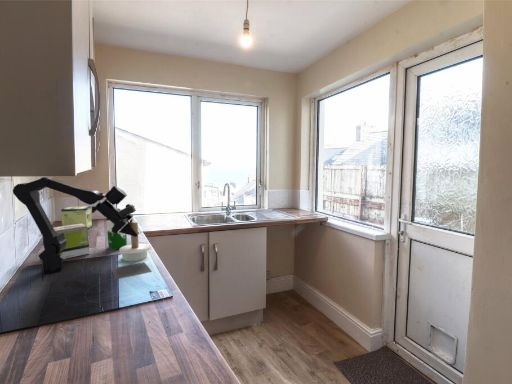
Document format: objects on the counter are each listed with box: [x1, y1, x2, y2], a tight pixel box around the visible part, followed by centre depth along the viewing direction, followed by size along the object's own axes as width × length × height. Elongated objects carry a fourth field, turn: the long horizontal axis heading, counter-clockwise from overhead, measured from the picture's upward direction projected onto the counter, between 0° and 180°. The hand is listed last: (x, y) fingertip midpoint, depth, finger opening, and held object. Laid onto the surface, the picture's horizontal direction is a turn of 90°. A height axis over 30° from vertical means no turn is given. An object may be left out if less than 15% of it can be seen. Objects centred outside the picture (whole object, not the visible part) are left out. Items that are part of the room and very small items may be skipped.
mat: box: [110, 261, 153, 280], centre depth 123 cm, size 14×14×1 cm
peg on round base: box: [118, 221, 151, 254], centre depth 130 cm, size 13×13×12 cm
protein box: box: [60, 205, 93, 230], centre depth 200 cm, size 10×16×16 cm
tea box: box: [53, 224, 91, 260], centre depth 144 cm, size 15×10×15 cm
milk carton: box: [105, 217, 128, 251], centre depth 156 cm, size 9×9×20 cm
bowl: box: [121, 250, 148, 262], centre depth 140 cm, size 11×11×4 cm
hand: (137, 235), depth 131 cm, fingers closed on peg on round base, 3 cm apart
